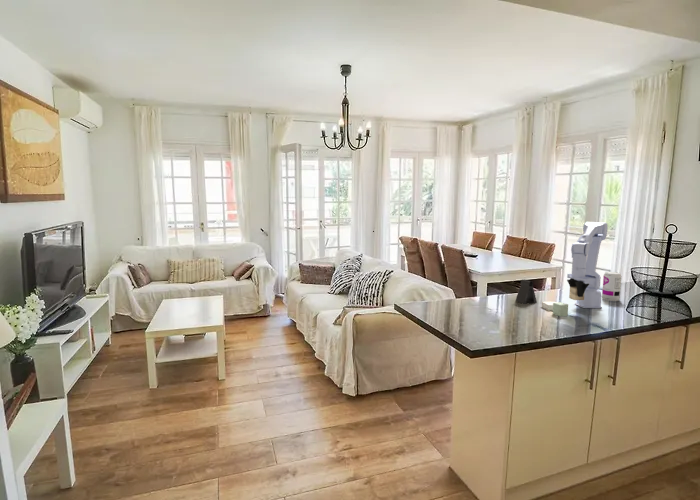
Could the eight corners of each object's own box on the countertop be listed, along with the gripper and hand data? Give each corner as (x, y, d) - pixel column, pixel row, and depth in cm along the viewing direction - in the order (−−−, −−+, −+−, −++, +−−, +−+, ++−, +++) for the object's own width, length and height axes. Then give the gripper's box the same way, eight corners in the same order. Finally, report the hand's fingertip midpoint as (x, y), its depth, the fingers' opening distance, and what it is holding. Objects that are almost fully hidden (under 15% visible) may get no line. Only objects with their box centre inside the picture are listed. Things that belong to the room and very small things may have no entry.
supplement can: (604, 300, 213) (606, 273, 211) (599, 297, 221) (601, 271, 219) (621, 302, 211) (624, 274, 209) (616, 298, 219) (618, 272, 217)
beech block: (578, 297, 192) (578, 286, 191) (583, 300, 187) (584, 288, 186) (569, 297, 191) (569, 286, 191) (574, 300, 187) (575, 288, 186)
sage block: (560, 313, 191) (560, 302, 190) (567, 315, 186) (568, 304, 186) (552, 313, 189) (553, 302, 189) (560, 316, 185) (560, 305, 184)
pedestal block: (555, 307, 202) (555, 301, 202) (562, 311, 195) (562, 305, 195) (541, 307, 202) (541, 301, 202) (548, 311, 195) (548, 305, 195)
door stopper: (528, 300, 216) (529, 278, 214) (536, 302, 210) (538, 280, 209) (515, 301, 213) (516, 279, 211) (523, 304, 207) (524, 282, 206)
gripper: (562, 265, 194) (560, 292, 196) (580, 270, 180) (578, 299, 182) (575, 265, 195) (574, 291, 196) (594, 270, 180) (592, 298, 182)
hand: (576, 295), depth 189 cm, fingers closed on beech block, 4 cm apart
